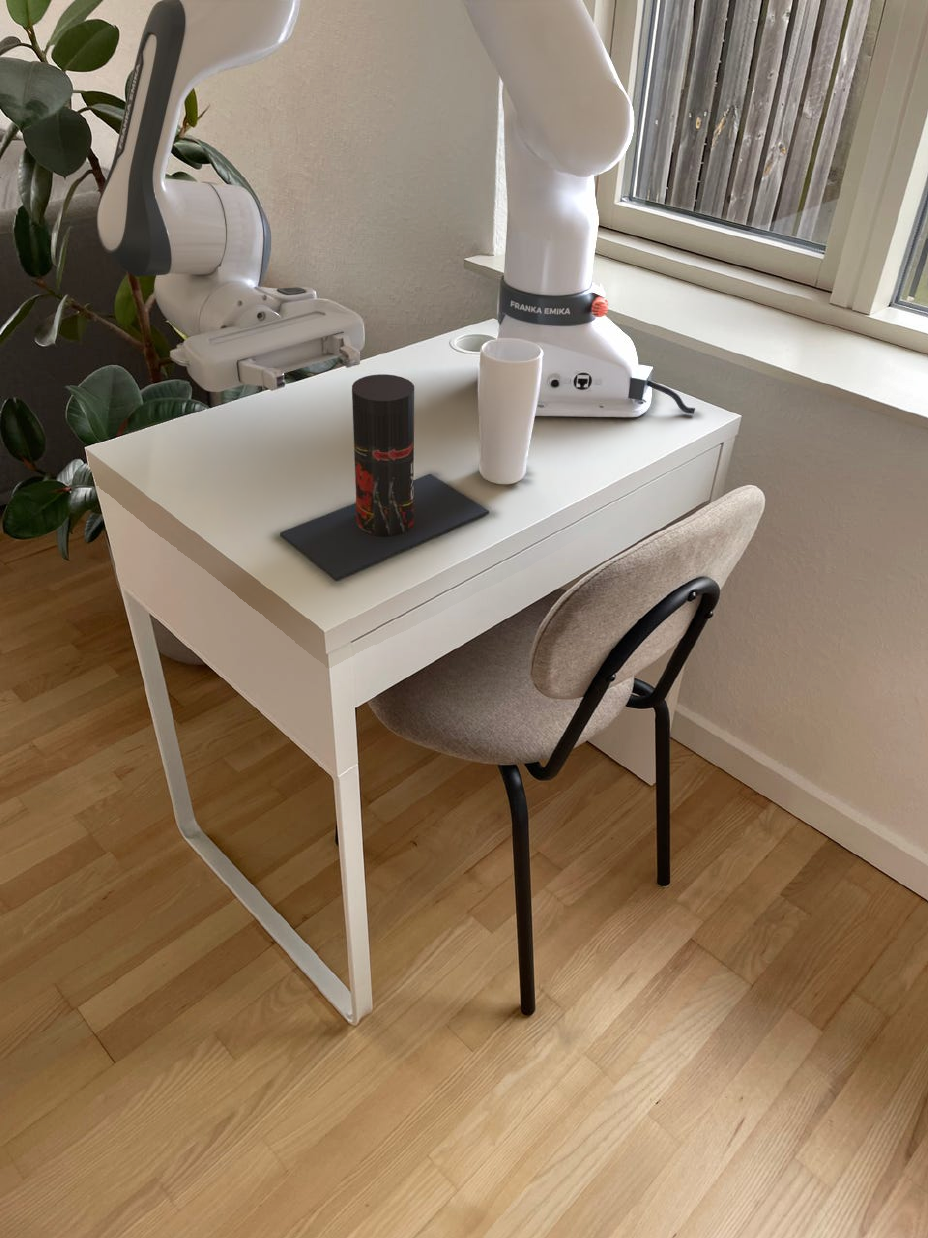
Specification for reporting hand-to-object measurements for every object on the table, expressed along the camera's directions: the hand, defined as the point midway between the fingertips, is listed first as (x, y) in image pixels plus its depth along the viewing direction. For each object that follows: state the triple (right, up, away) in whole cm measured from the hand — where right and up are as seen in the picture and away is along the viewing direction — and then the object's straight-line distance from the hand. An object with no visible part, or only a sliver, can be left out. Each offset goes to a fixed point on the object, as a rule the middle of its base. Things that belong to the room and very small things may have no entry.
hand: (317, 370), depth 97 cm
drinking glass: (+20, -9, +11) cm, 24 cm away
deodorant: (+7, -16, +1) cm, 17 cm away
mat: (+7, -16, +1) cm, 17 cm away
